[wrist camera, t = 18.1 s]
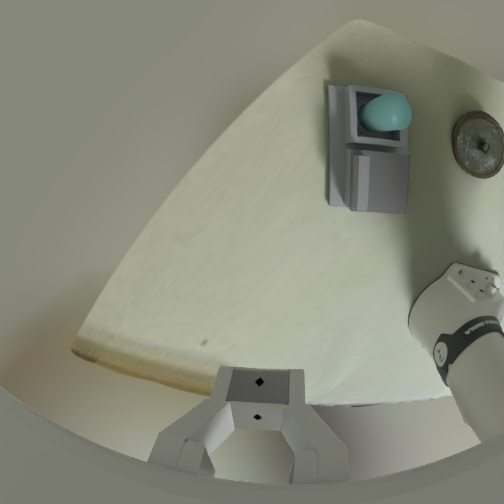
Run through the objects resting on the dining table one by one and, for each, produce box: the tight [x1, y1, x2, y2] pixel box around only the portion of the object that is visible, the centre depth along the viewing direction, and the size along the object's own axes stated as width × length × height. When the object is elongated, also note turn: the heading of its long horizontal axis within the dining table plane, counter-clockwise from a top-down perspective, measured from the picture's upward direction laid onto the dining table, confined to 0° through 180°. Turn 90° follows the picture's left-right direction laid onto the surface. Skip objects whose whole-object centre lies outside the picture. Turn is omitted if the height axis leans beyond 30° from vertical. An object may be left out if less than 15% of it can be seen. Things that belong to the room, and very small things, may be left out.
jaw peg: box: [357, 92, 412, 132], centre depth 25 cm, size 4×4×8 cm
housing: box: [327, 84, 409, 209], centre depth 29 cm, size 16×11×4 cm
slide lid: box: [350, 149, 410, 214], centre depth 27 cm, size 7×7×3 cm
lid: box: [453, 111, 504, 179], centre depth 26 cm, size 11×10×5 cm
